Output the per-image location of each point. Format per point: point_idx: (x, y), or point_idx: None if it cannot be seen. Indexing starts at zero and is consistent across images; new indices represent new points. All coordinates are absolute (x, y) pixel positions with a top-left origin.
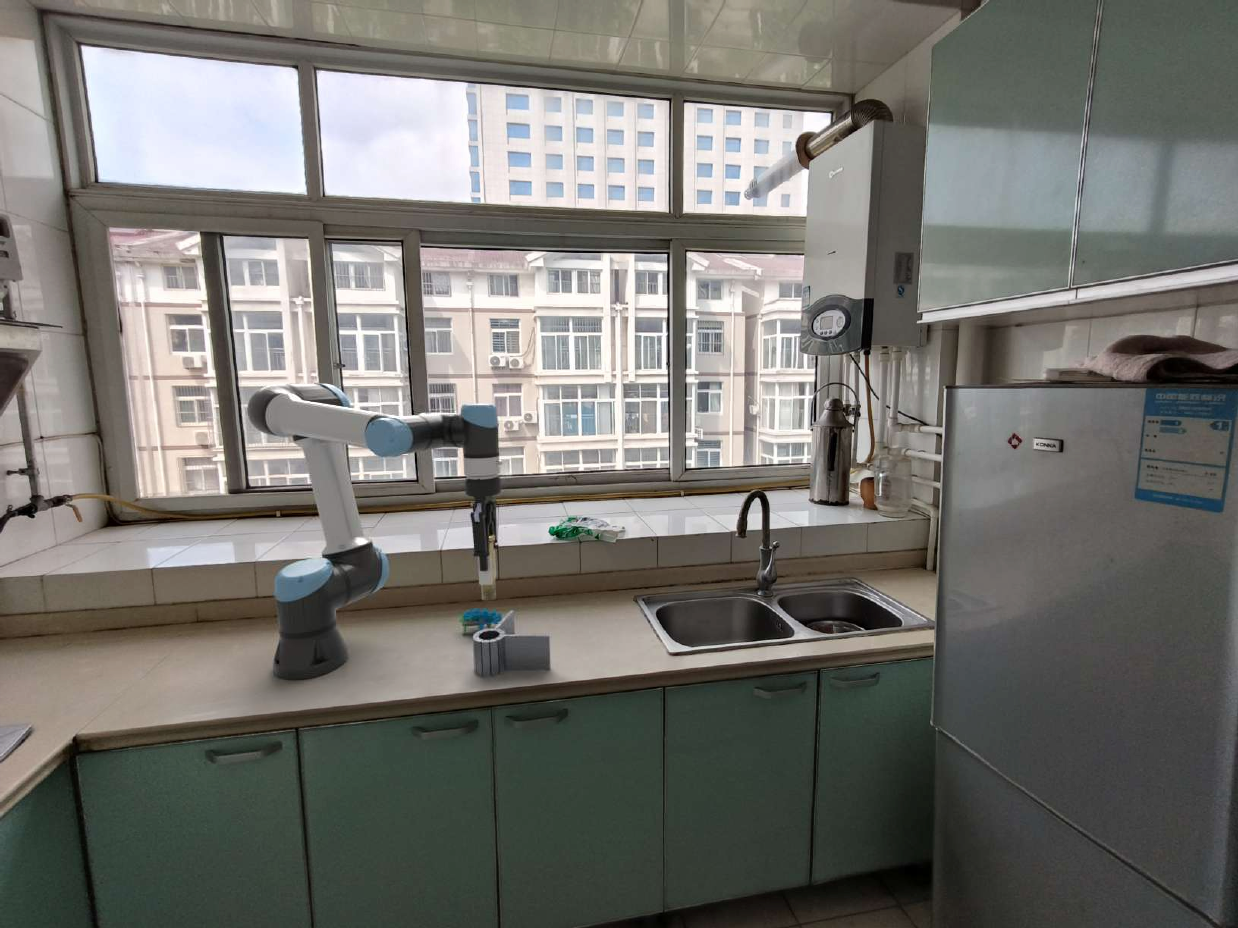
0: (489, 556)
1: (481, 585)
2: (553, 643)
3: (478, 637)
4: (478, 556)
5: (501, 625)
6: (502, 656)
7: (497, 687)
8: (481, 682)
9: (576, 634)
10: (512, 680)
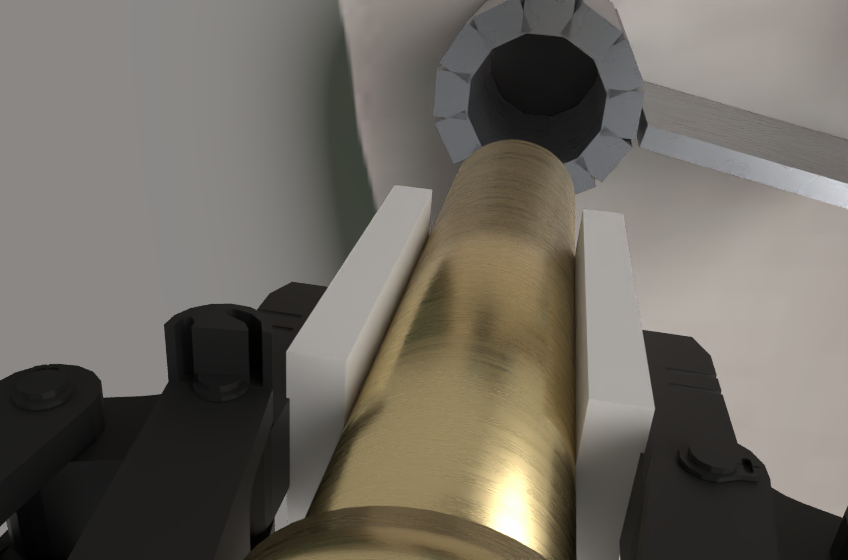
0: (290, 502)
1: (479, 184)
2: (764, 354)
3: (508, 37)
4: (294, 354)
5: (699, 162)
6: None
7: (363, 118)
8: (410, 34)
9: (840, 457)
10: (420, 179)
